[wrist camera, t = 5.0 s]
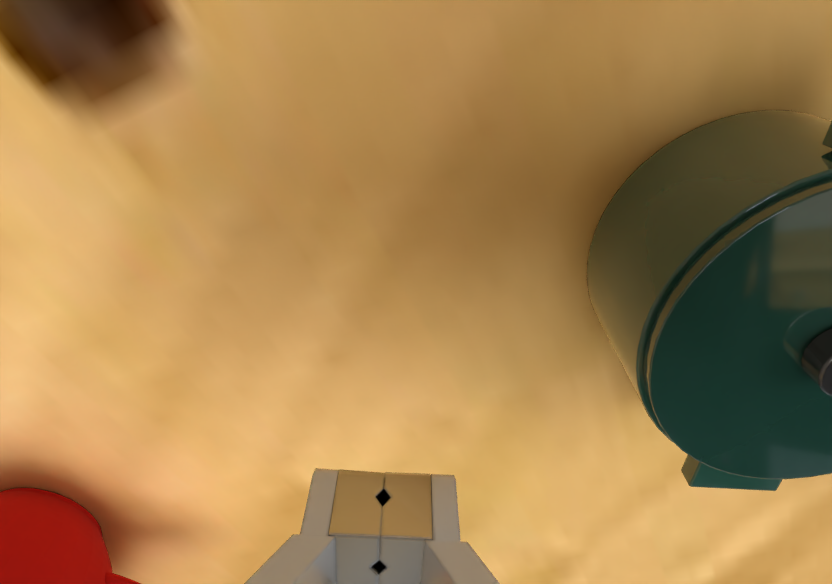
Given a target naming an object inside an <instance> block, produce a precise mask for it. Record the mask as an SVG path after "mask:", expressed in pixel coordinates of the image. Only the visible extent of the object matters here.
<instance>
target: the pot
mask: <svg viewBox="0 0 832 584" xmlns="http://www.w3.org/2000/svg"><path fill="white" fill-rule="evenodd" d="M587 284H588V292H589V297H590V300H591V303H592V307H593V310H594V312H595V314H596V316H597V318H598V320H599V322H600V324H601V326H602V327H603V329H604V331H605V333H606V335H607V337H608V339H609V341H610V343H611V345H612V347H613V349H614V351H615V352H616V354H617V356H618V358H619V360H620V362H621V364H622V366H623V368H624V370H625V372H626V374H627V375H628V377H629V379H630V381H631V383H632V385H633V387H634V389H635V391H636V393H637V395H638V397H639V398H640V400H641V402H642V404H643V406H644V408H645V410H646V412H647V414H648V416H649V417H650V418H651V420H652V421H653V422H654V424H655V425H656V427H657V428H658V429H659V430H660V431H661V432H662V433H663V434H664V435H665V436H666V437H667V438H668V439H669V440H671V441H672V442H674V443H675V444H676V445H677V446H678V447H679V448H680V449H681V450H682V451H684V452H685V453H687V454H688V455H687V458H686V460H685V462H684V465H683V467H682V473H683V475H684V477H685V479H686V481H687V482H688V484H689V486H691V487H708V488H728V489H747V490H767V491H776V490H777V488H778V486H779V485H780V483H781V481H782V479H793V478H805V477H812V476H818V475H824V474H830V473H832V121H830V120H827V119H824V118H821V117H818V116H815V115H811V114H808V113H803V112H796V111H789V110H763V111H755V112H747V113H741V114H737V115H733V116H729V117H726V118H722V119H719V120H716V121H714V122H711V123H708V124H706V125H703V126H700V127H698V128H696V129H694V130H692V131H690V132H688V133H686V134H684V135H682V136H680V137H679V138H677V139H676V140H674V141H672V142H671V143H669V144H668V145H666V146H665V147H663V148H662V149H660V150H659V151H658V152H656V153H655V154H654V155H653V156H651V157H650V158H649V159H648V160H647V161H645V162H644V163H643V164H642V165H641V166H640V167H639V168H638V169H637V170H636V171H635V172H634V173H633V174H632V175H631V176H630V177H629V178H628V179H627V180H626V181H625V183H624V184H623V185H622V186H621V188H620V189H619V190H618V191H617V193H616V194H615V195H614V197H613V198H612V200H611V202H610V203H609V205H608V206H607V208H606V210H605V211H604V213H603V215H602V217H601V219H600V222H599V224H598V226H597V228H596V230H595V233H594V237H593V240H592V243H591V246H590V251H589V257H588V263H587Z"/></svg>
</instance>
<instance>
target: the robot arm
mask: <svg viewBox="0 0 832 584" xmlns="http://www.w3.org/2000/svg"><path fill="white" fill-rule="evenodd" d="M244 584H499V582H498V581H497V580H496V578H495V577H494V576H493V574H492V573H491V572H490V571H489V569H488V568H487V567H486V565H485V564H484V563H483V562H482V560H481V559H480V558H479V556H478V555H477V554H476V552H475V551H474V550H473V549H472V547H471V546H470V545H469V543H468V542H460V529H459V517H458V504H457V492H456V479H455V477H454V475H439V474H431V475H430V474H419V473H390V472H385V473H379V472H365V471H351V470H333V469H318V468H316V469H315V471H314V473H313V476H312V480H311V485H310V490H309V494H308V499H307V504H306V508H305V513H304V518H303V522H302V527H301V532H300V535H298V534H293V535H292V536H291V537H290V538H289V539H288V540H287V541H286V542H285V543H284V544H283V545H282V546H281V547H280V548H279V549H278V550H277V551H276V552H275V553H274V554H273V555H272V556H271V557H270V558H269V559H268V560H267V561H266V562H265V563H264V564H263V565H262V566H261V567H260V568H259V569H258V570H257V571H256V572H255V573H254V574H253V575H252V576H251V577H250V578H249V579H248V580H247V581H246V582H245V583H244Z"/></svg>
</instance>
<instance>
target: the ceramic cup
mask: <svg viewBox="0 0 832 584" xmlns="http://www.w3.org/2000/svg"><path fill="white" fill-rule="evenodd" d="M0 584H140V583H138V582H136V581H133V580H131V579H128V578H125V577H123V576H120V575H117V574H114V573H112V567H111V563H110V560H109V556H108V552H107V549H106V546H105V543H104V541H103V538H102V532H101V528H100V526H99V524H98V522H97V521H96V519H95V518H94V517H93V516H92V515H91V514H90V513H89V512H88V511H87V510H86V509H84V508H83V507H82V506H81V505H79V504H77V503H76V502H74V501H72V500H70V499H68V498H66V497H64V496H62V495H59V494H56V493H53V492H49V491H45V490H40V489H33V488H14V489H9V490H5V491H2V492H0Z"/></svg>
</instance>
